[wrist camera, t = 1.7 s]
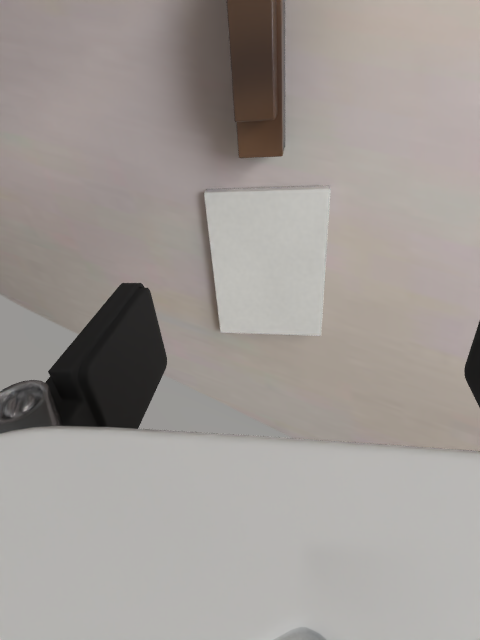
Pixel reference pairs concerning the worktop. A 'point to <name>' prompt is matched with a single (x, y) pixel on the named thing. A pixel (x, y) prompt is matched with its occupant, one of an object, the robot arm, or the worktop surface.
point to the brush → (258, 75)
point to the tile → (269, 257)
